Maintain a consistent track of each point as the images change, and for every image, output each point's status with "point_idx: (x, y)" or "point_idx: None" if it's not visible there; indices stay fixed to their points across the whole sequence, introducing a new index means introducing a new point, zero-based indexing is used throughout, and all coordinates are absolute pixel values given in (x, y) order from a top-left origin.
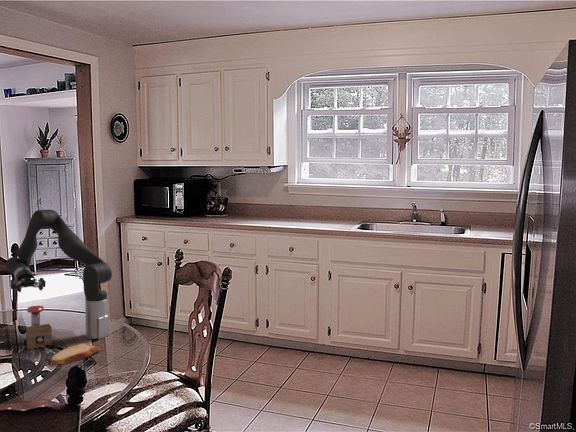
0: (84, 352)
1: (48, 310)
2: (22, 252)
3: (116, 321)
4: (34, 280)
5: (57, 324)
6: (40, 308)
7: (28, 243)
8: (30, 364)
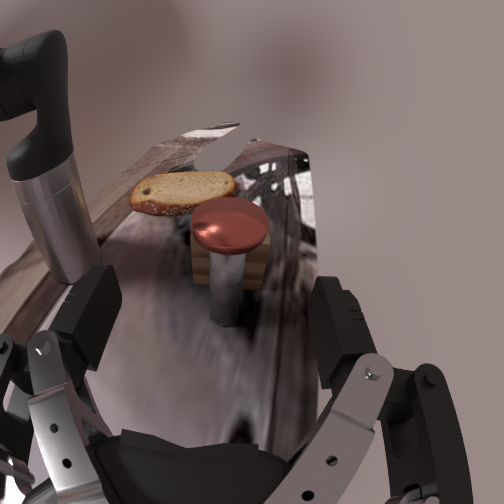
0: (175, 173)
1: None
2: None
3: None
4: (70, 413)
5: None
6: (213, 203)
7: None
8: (269, 202)
